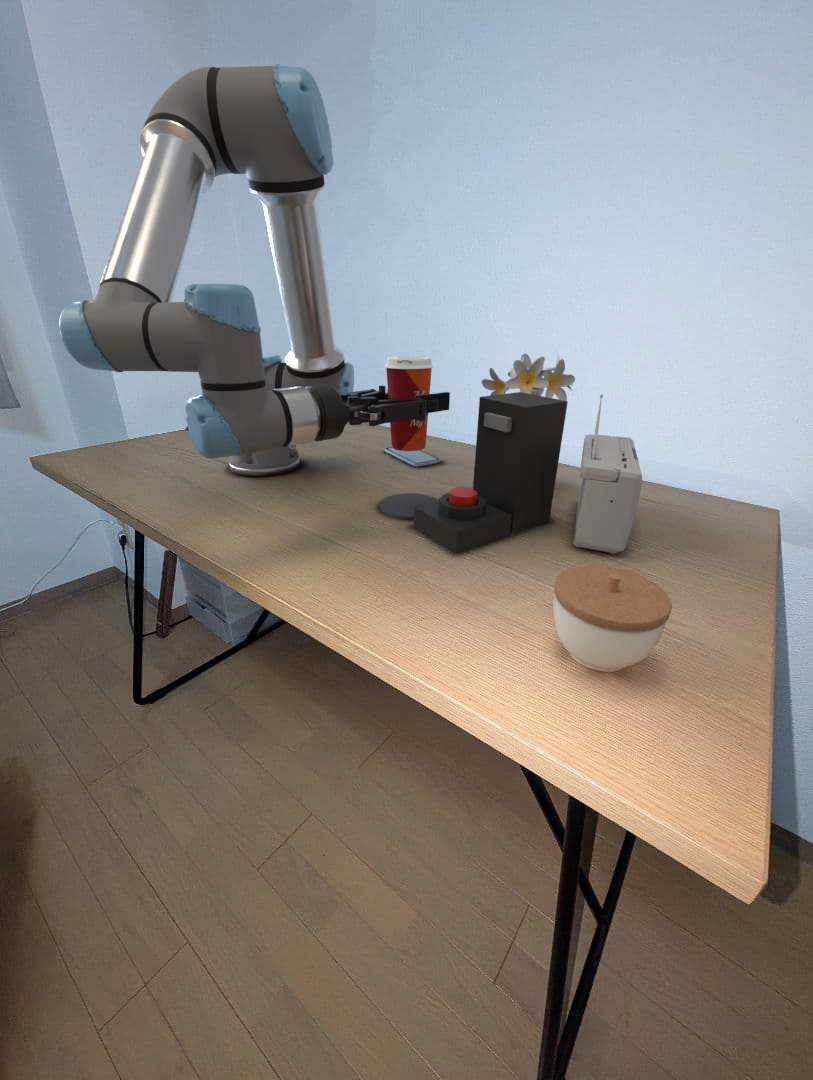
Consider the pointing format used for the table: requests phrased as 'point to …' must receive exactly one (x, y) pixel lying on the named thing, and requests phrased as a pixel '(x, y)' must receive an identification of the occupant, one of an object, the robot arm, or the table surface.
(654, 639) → the trinket box
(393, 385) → the paper cup
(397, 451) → the smartphone
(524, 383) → the flower vase
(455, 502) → the coffee button
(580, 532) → the radio
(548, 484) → the tank
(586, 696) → the table surface
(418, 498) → the coaster
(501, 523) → the base
